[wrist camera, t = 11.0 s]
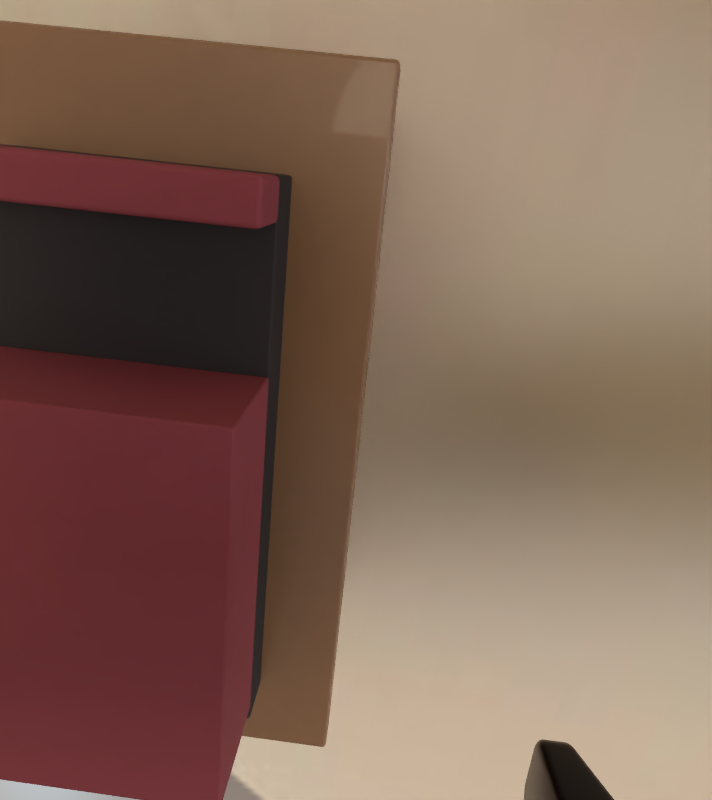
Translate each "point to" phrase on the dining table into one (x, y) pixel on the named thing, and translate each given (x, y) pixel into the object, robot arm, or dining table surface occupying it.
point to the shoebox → (305, 274)
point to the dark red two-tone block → (135, 465)
